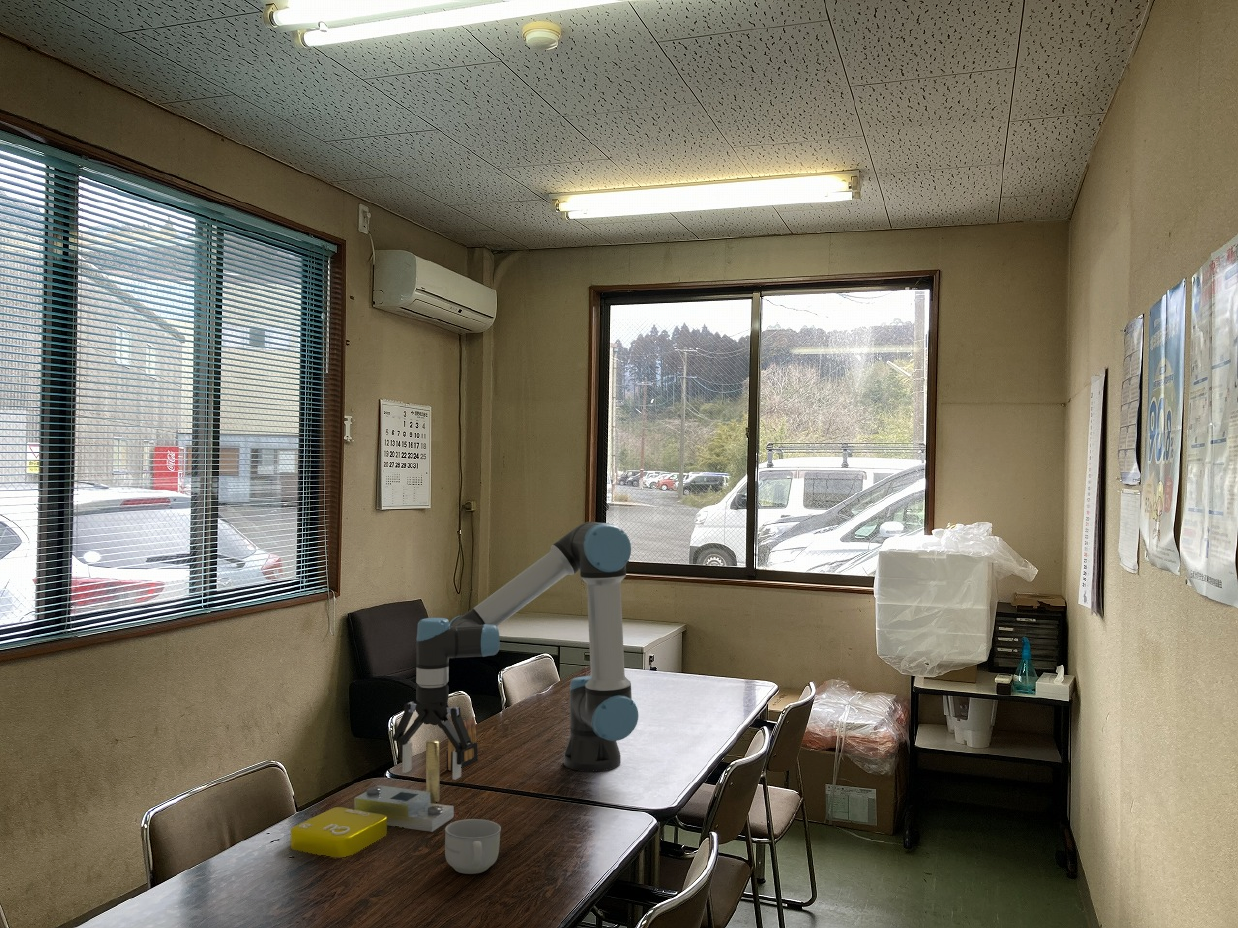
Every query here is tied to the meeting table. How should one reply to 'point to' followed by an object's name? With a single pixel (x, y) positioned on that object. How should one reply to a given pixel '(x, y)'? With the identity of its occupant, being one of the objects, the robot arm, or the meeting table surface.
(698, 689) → the meeting table surface
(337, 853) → the element tile
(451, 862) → the teacup
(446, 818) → the bolted socket block
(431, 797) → the brass pin
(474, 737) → the ammunition clip
